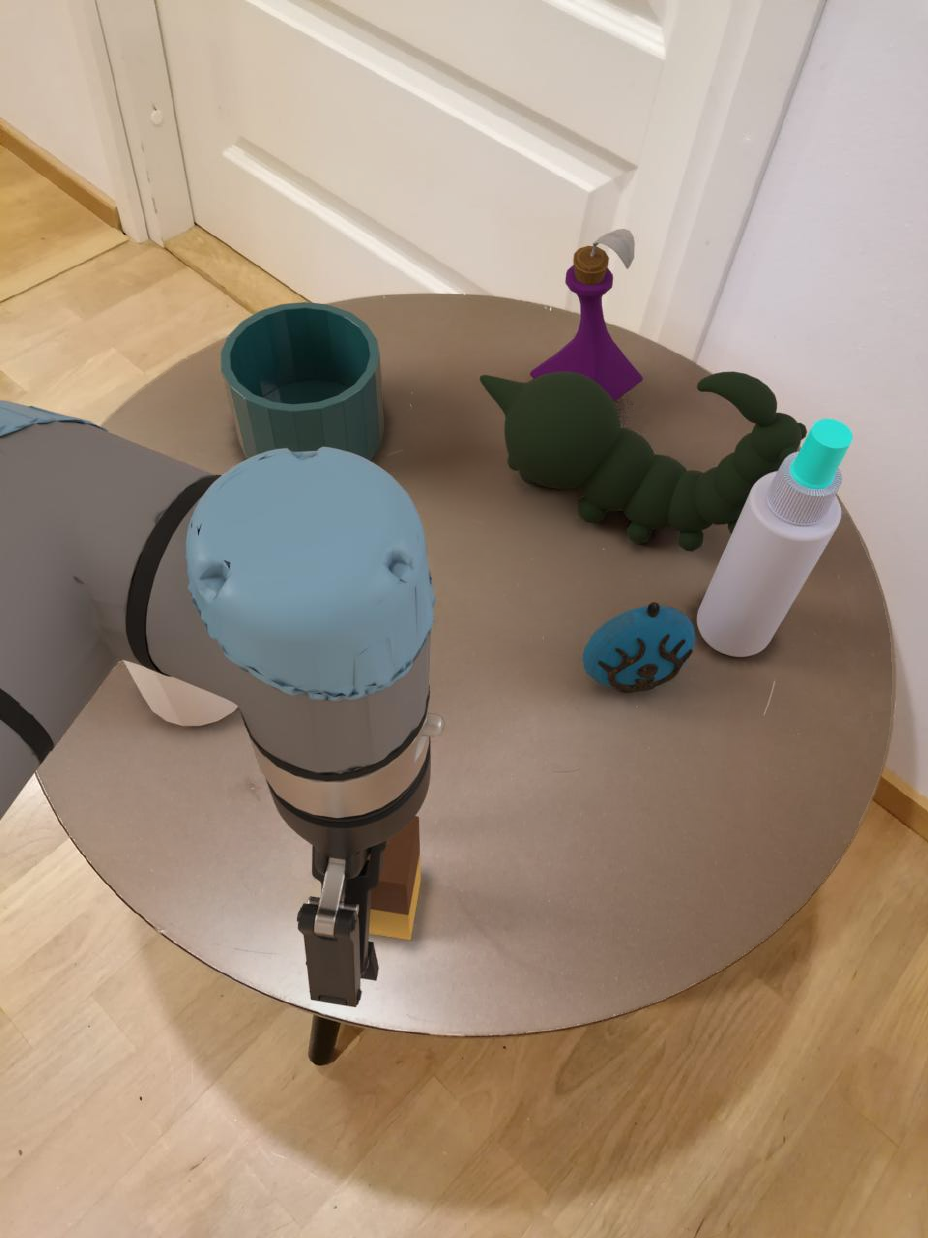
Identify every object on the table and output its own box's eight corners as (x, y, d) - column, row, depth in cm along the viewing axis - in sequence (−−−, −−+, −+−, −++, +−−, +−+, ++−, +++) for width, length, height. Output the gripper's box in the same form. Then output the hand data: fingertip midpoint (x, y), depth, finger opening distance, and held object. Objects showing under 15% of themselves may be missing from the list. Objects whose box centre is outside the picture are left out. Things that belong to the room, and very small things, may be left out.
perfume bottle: (525, 399, 88) (545, 228, 73) (580, 362, 91) (609, 191, 76) (583, 443, 85) (616, 275, 70) (637, 404, 88) (680, 235, 73)
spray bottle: (770, 602, 76) (879, 404, 58) (771, 665, 73) (886, 477, 55) (696, 590, 77) (780, 391, 58) (693, 653, 74) (782, 462, 55)
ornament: (584, 711, 70) (605, 643, 62) (570, 658, 73) (588, 586, 64) (689, 696, 71) (724, 627, 63) (672, 645, 74) (703, 571, 65)
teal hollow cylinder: (221, 474, 82) (200, 399, 74) (260, 372, 89) (245, 293, 81) (367, 494, 81) (361, 420, 74) (395, 389, 88) (392, 311, 81)
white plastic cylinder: (187, 619, 74) (124, 465, 59) (277, 661, 72) (237, 513, 57) (121, 703, 70) (36, 560, 54) (215, 750, 68) (154, 615, 53)
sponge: (410, 940, 61) (406, 885, 51) (335, 928, 61) (316, 871, 51) (420, 880, 63) (419, 816, 53) (348, 869, 63) (332, 803, 53)
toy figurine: (743, 525, 83) (491, 409, 86) (841, 369, 66) (526, 234, 70) (708, 604, 78) (444, 478, 82) (805, 457, 62) (469, 308, 65)
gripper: (381, 1020, 35) (398, 1089, 54) (466, 554, 47) (455, 745, 66) (186, 987, 35) (271, 1067, 54) (318, 534, 47) (350, 729, 66)
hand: (372, 891), depth 60 cm, fingers open, 9 cm apart
